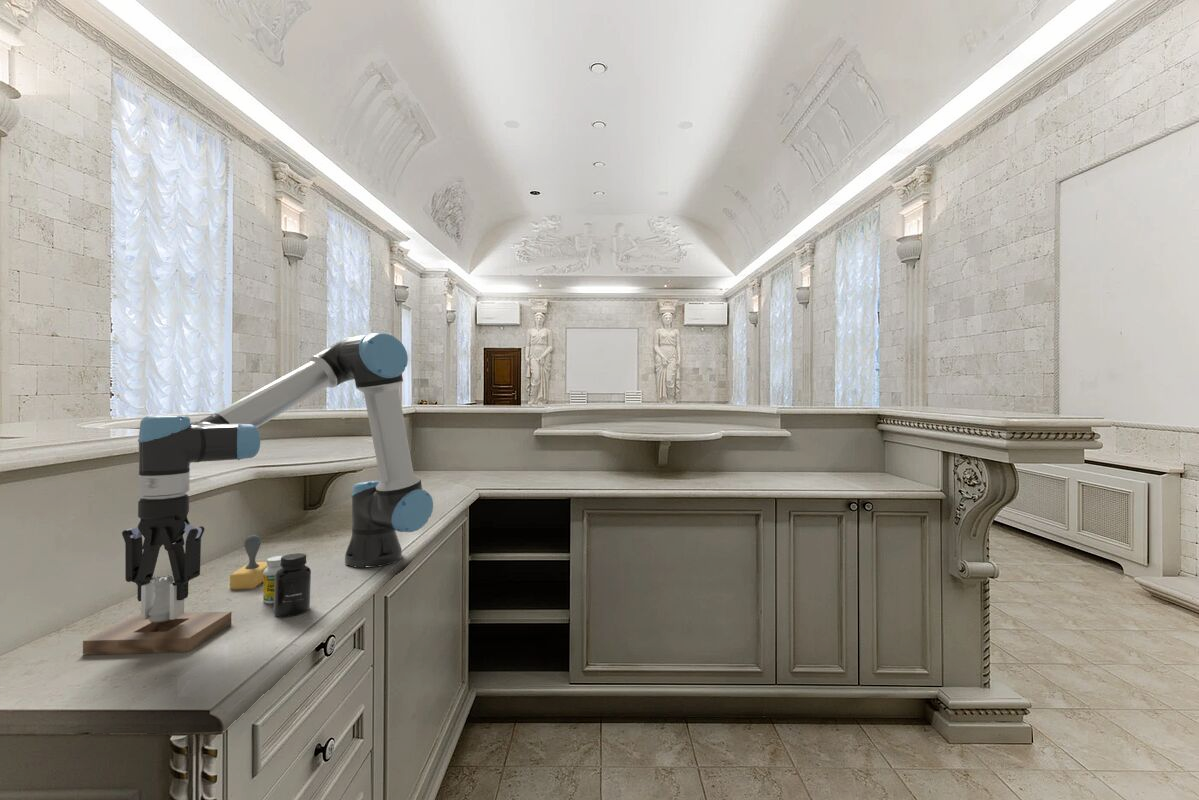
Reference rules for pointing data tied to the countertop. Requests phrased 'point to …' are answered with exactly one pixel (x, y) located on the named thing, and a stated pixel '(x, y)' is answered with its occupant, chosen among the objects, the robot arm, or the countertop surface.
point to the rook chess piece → (161, 599)
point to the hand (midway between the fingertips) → (162, 616)
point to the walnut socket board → (157, 634)
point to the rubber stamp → (249, 567)
